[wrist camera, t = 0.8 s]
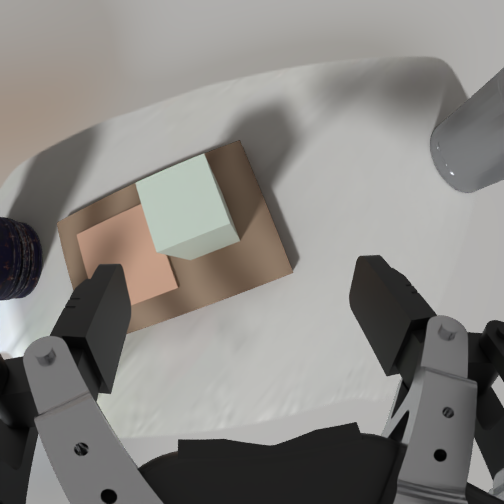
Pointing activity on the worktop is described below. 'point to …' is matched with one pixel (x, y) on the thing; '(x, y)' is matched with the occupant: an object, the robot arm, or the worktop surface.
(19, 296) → the dark blue ridged cylinder
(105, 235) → the terracotta pad
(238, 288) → the walnut board
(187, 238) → the pale mint tall block
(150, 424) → the worktop surface
